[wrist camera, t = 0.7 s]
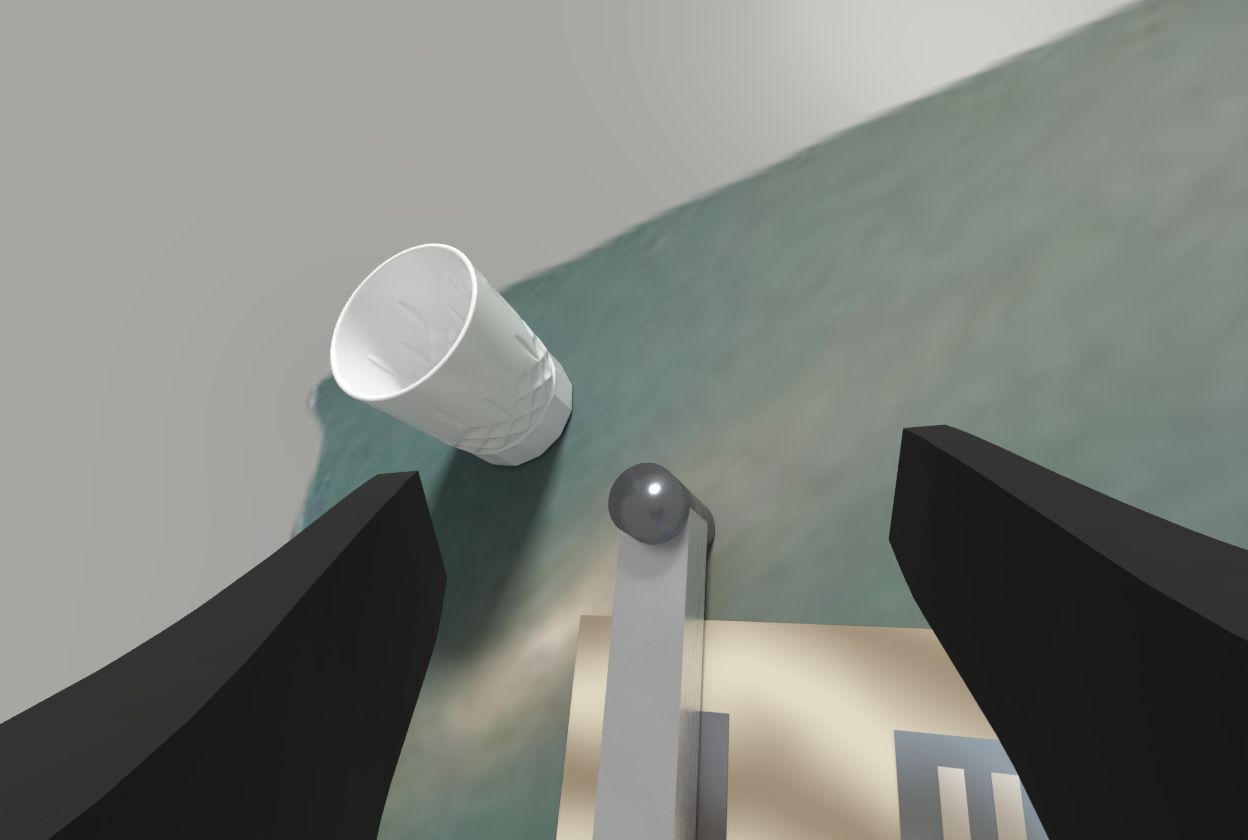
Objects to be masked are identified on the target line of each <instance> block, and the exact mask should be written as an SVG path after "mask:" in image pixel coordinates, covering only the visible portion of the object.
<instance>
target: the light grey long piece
mask: <svg viewBox="0 0 1248 840" xmlns="http://www.w3.org/2000/svg"><path fill="white" fill-rule="evenodd" d="M608 506H609V513H610V516H611V518H612V520H613V522H614V523H615V525H616V526H617V527H618V528H619V529H620V541H619V552H618V563H617V574H616V585H615V596H614V607H613V618H612V629H611V640H610V651H609V662H608V673H607V684H606V695H605V706H604V717H603V728H602V739H601V750H600V761H599V772H598V783H597V794H596V805H595V816H594V827H593V838H592V840H695V832H696V806H697V781H698V755H699V729H700V704H701V678H702V653H703V627H704V601H705V576H706V551H707V549H708V548H709V546H710V545H711V543H712V540H713V537H714V532H715V524H714V519H713V516H712V514H711V512H710V511H709V509H708V508H707V507H706V506H705V505H704V504H703V503H702V502H701V501H700V500H699V499H698V498H697V497H695V496H694V495H693V494H692V493H691V492H690V491H689V490H688V489H687V488H686V487H685V486H684V485H683V484H682V483H681V482H680V481H679V480H678V479H677V478H676V477H674V476H673V475H672V474H671V473H670V472H669V471H668V470H667V469H666V468H664V467H662V466H660V465H658V464H654V463H641V464H637V465H635V466H632V467H630V468H629V469H627V470H626V471H624V472H623V473H622V474H621V475H620V476H619V477H618V478H617V480H616V481H615V483H614V484H613V486H612V489H611V491H610V495H609V501H608Z"/></svg>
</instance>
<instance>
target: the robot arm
mask: <svg viewBox="0 0 1248 840" xmlns="http://www.w3.org/2000/svg"><path fill="white" fill-rule="evenodd" d="M889 541H890V544H891V546H892V549H893V551H894V554H895V556H896V559H897V561H898V563H899V566H900V568H901V571H902V573H903V575H904V578H905V580H906V582H907V584H908V587H909V589H910V591H911V593H912V595H913V598H914V599H915V601H916V603H917V605H918V606H919V608H920V610H921V611H922V613H923V615H924V617H925V618H926V620H927V622H928V623H929V625H930V627H931V628H932V630H933V632H934V633H935V635H936V637H937V638H938V640H939V642H940V643H941V645H942V647H943V648H944V650H945V652H946V653H947V655H948V657H949V658H950V660H951V661H952V663H953V665H954V666H955V668H956V670H957V671H958V673H959V675H960V676H961V678H962V679H963V681H964V683H965V684H966V686H967V688H968V689H969V691H970V693H971V694H972V696H973V698H974V699H975V701H976V702H977V704H978V706H979V707H980V709H981V711H982V712H983V714H984V716H985V717H986V719H987V721H988V722H989V724H990V725H991V727H992V729H993V730H994V732H995V734H996V735H997V737H998V739H999V741H1000V743H1001V745H1002V746H1003V748H1004V750H1005V752H1006V754H1007V755H1008V757H1009V759H1010V761H1011V763H1012V764H1013V766H1014V768H1015V770H1016V772H1017V774H1018V776H1019V778H1020V780H1021V782H1022V785H1023V787H1024V789H1025V791H1026V793H1027V795H1028V797H1029V799H1030V801H1031V803H1032V805H1033V807H1034V809H1035V812H1036V814H1037V816H1038V818H1039V820H1040V822H1041V824H1042V826H1043V828H1044V830H1045V832H1046V834H1047V836H1048V839H1049V840H1248V550H1245V549H1243V548H1240V547H1237V546H1234V545H1231V544H1228V543H1225V542H1222V541H1219V540H1217V539H1214V538H1211V537H1209V536H1206V535H1203V534H1201V533H1198V532H1195V531H1192V530H1190V529H1187V528H1185V527H1182V526H1180V525H1177V524H1175V523H1172V522H1170V521H1167V520H1165V519H1162V518H1160V517H1157V516H1155V515H1152V514H1150V513H1148V512H1145V511H1143V510H1140V509H1138V508H1135V507H1133V506H1130V505H1128V504H1125V503H1123V502H1121V501H1118V500H1116V499H1114V498H1111V497H1109V496H1107V495H1105V494H1102V493H1100V492H1098V491H1095V490H1093V489H1091V488H1089V487H1086V486H1084V485H1082V484H1080V483H1077V482H1075V481H1073V480H1071V479H1069V478H1066V477H1064V476H1062V475H1060V474H1057V473H1055V472H1053V471H1051V470H1049V469H1047V468H1044V467H1042V466H1040V465H1038V464H1036V463H1034V462H1031V461H1029V460H1027V459H1025V458H1023V457H1021V456H1018V455H1016V454H1014V453H1012V452H1010V451H1008V450H1005V449H1003V448H1001V447H999V446H997V445H994V444H992V443H990V442H988V441H985V440H983V439H981V438H979V437H976V436H974V435H971V434H969V433H967V432H964V431H962V430H959V429H956V428H953V427H950V426H947V425H935V426H924V427H913V428H903V434H902V442H901V449H900V457H899V465H898V473H897V480H896V488H895V496H894V503H893V511H892V519H891V526H890V534H889ZM446 580H447V576H446V572H445V568H444V565H443V561H442V557H441V554H440V550H439V546H438V542H437V539H436V535H435V531H434V528H433V524H432V520H431V517H430V513H429V509H428V505H427V502H426V498H425V494H424V491H423V487H422V483H421V480H420V476H419V472H418V471H410V472H399V473H387V474H378V475H376V476H374V477H373V478H371V479H370V480H368V481H367V482H365V483H364V484H362V485H361V486H360V487H358V488H357V489H356V490H354V491H353V492H352V493H350V494H349V495H348V496H346V497H345V498H344V499H342V500H341V501H340V502H339V503H337V504H336V505H335V506H334V507H332V508H331V509H330V510H328V511H327V512H326V513H325V514H323V515H322V516H321V517H320V518H318V519H317V520H316V521H314V522H313V523H312V524H311V525H309V526H308V527H307V528H306V529H304V530H303V531H302V532H300V533H299V534H298V535H297V536H295V537H294V538H293V539H291V540H290V541H289V542H288V543H286V544H285V545H284V546H282V547H281V548H280V549H279V550H277V551H276V552H275V553H273V554H272V555H271V556H270V557H268V558H267V559H265V560H264V561H263V562H261V563H260V564H258V565H257V566H256V567H254V568H253V569H252V570H250V571H249V572H248V573H246V574H245V575H243V576H242V577H241V578H239V579H238V580H236V581H235V582H234V583H232V584H231V585H229V586H228V587H227V588H226V589H224V590H223V591H221V592H220V593H218V594H217V595H216V596H214V597H213V598H212V599H210V600H209V601H207V602H206V603H205V604H203V605H202V606H200V607H199V608H197V609H196V610H194V611H193V612H191V613H190V614H188V615H187V616H185V617H184V618H182V619H181V620H179V621H178V622H176V623H175V624H173V625H171V626H170V627H169V628H167V629H165V630H164V631H162V632H161V633H159V634H157V635H156V636H154V637H153V638H151V639H149V640H148V641H146V642H145V643H143V644H141V645H140V646H138V647H137V648H135V649H133V650H131V651H130V652H128V653H127V654H125V655H124V656H122V657H120V658H119V659H117V660H115V661H113V662H112V663H110V664H108V665H107V666H105V667H103V668H102V669H100V670H98V671H96V672H95V673H93V674H91V675H89V676H88V677H86V678H84V679H82V680H80V681H78V682H77V683H75V684H73V685H71V686H69V687H68V688H65V689H64V690H62V691H60V692H58V693H56V694H55V695H53V696H51V697H49V698H47V699H45V700H44V701H42V702H40V703H38V704H36V705H35V706H33V707H31V708H29V709H27V710H25V711H23V712H22V713H20V714H18V715H16V716H14V717H13V718H11V719H9V720H7V721H5V722H3V723H2V724H0V840H377V835H378V830H379V826H380V821H381V817H382V814H383V810H384V806H385V803H386V799H387V795H388V792H389V788H390V784H391V781H392V778H393V775H394V772H395V769H396V765H397V762H398V759H399V756H400V753H401V750H402V747H403V744H404V740H405V737H406V734H407V731H408V728H409V725H410V722H411V719H412V715H413V712H414V709H415V706H416V703H417V700H418V697H419V694H420V690H421V687H422V684H423V681H424V678H425V674H426V671H427V668H428V665H429V662H430V658H431V655H432V652H433V648H434V645H435V642H436V638H437V633H438V628H439V623H440V617H441V612H442V606H443V599H444V593H445V587H446Z"/></svg>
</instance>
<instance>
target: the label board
mask: <svg viewBox="0 0 1248 840" xmlns="http://www.w3.org/2000/svg"><path fill="white" fill-rule="evenodd" d="M612 618H613V616H590V615H581V618H580V627H579V637H578V646H577V655H576V664H575V673H574V682H573V691H572V701H571V710H570V719H569V728H568V737H567V746H566V756H565V765H564V774H563V783H562V792H561V801H560V810H559V820H558V829H557V838H556V840H592V838H593V827H594V816H595V805H596V794H597V783H598V772H599V761H600V750H601V739H602V728H603V717H604V706H605V695H606V684H607V673H608V662H609V651H610V640H611V629H612ZM695 840H1049V839H1048V836H1047V834H1046V832H1045V830H1044V828H1043V826H1042V824H1041V822H1040V820H1039V818H1038V816H1037V814H1036V812H1035V809H1034V807H1033V805H1032V803H1031V801H1030V799H1029V797H1028V795H1027V793H1026V791H1025V789H1024V787H1023V785H1022V782H1021V780H1020V778H1019V776H1018V774H1017V772H1016V770H1015V768H1014V766H1013V764H1012V763H1011V761H1010V759H1009V757H1008V755H1007V754H1006V752H1005V750H1004V748H1003V746H1002V745H1001V743H1000V741H999V739H998V737H997V735H996V734H995V732H994V730H993V729H992V727H991V725H990V724H989V722H988V721H987V719H986V717H985V716H984V714H983V712H982V711H981V709H980V707H979V706H978V704H977V702H976V701H975V699H974V698H973V696H972V694H971V693H970V691H969V689H968V688H967V686H966V684H965V683H964V681H963V679H962V678H961V676H960V675H959V673H958V671H957V670H956V668H955V666H954V665H953V663H952V661H951V660H950V658H949V657H948V655H947V653H946V652H945V650H944V648H943V647H942V645H941V643H940V642H939V640H938V638H937V637H936V635H935V633H934V632H933V630H932V629H913V628H888V627H864V626H839V625H814V624H789V623H764V622H739V621H714V620H704V627H703V653H702V678H701V704H700V729H699V755H698V781H697V806H696V832H695Z"/></svg>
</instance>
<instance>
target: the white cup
mask: <svg viewBox="0 0 1248 840" xmlns="http://www.w3.org/2000/svg"><path fill="white" fill-rule="evenodd" d="M330 363H331V369H332V373H333V376H334V378H335V380H336V382H337V384H338V385H339V387H340V388H341V389H342V390H343V391H344V392H345V393H346V394H348V395H349V396H351V397H353V398H355V399H357V400H359V401H361V402H363V403H365V404H367V405H369V406H371V407H373V408H375V409H377V410H379V411H381V412H383V413H385V414H387V415H389V416H391V417H393V418H395V419H397V420H399V421H401V422H403V423H405V424H407V425H409V426H411V427H413V428H415V429H417V430H419V431H421V432H423V433H425V434H427V435H429V436H432V437H434V438H437V439H438V440H440V441H442V442H444V443H446V444H448V445H451V446H453V447H456V448H458V449H461V450H465V451H468V452H469V453H472V454H473V455H475V456H477V457H479V458H481V459H483V460H485V461H487V462H489V463H491V464H493V465H508V466H518V465H520V464H522V463H525V462H527V461H529V460H532V459H534V458H536V457H539V456H541V455H542V454H543V453H544V452H545V451H546V450H547V449H548V448H549V447H550V446H551V445H552V444H553V443H554V442H555V441H556V440H557V439H558V438H559V437H560V436H561V434H562V431H563V429H564V427H565V425H566V422H567V420H568V418H569V416H570V414H571V411H572V384H571V382H570V381H569V379H568V377H567V375H566V373H565V371H564V369H563V367H562V366H561V365H560V363H559V362H558V361H557V360H556V359H555V358H554V357H553V356H552V355H551V354H550V353H549V352H548V351H547V349H546V347H545V346H544V345H543V343H542V342H541V341H540V339H539V338H538V337H537V336H536V335H535V333H534V332H533V331H532V330H531V329H530V328H529V327H528V326H527V324H526V323H525V322H524V321H523V319H522V318H521V317H520V316H519V315H518V313H517V312H516V311H515V310H514V309H513V308H512V307H511V306H510V305H509V304H508V302H507V301H506V300H505V299H504V298H503V297H502V296H501V295H500V294H499V293H498V291H497V290H496V289H495V288H494V287H493V286H492V285H491V284H490V283H489V282H488V281H487V279H486V278H485V277H484V276H483V275H482V274H481V273H480V272H479V271H478V269H477V268H476V267H475V266H474V265H473V264H472V263H471V262H470V261H469V259H468V258H467V257H466V256H465V255H464V254H463V253H462V252H460V251H459V250H457V249H455V248H453V247H451V246H448V245H443V244H425V245H420V246H416V247H413V248H410V249H407V250H405V251H402V252H401V253H398V254H397V255H395V256H393V257H392V258H390V259H388V260H387V261H385V262H384V263H382V264H381V265H380V266H379V267H377V268H376V269H375V270H374V271H373V272H372V273H371V274H370V275H369V276H368V277H367V278H366V279H365V280H364V281H363V282H362V283H361V284H360V285H359V287H358V288H357V289H356V290H355V291H354V293H353V294H352V296H351V297H350V299H349V300H348V302H347V303H346V305H345V307H344V309H343V310H342V313H341V315H340V317H339V319H338V321H337V324H336V326H335V330H334V333H333V337H332V342H331V349H330Z"/></svg>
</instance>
